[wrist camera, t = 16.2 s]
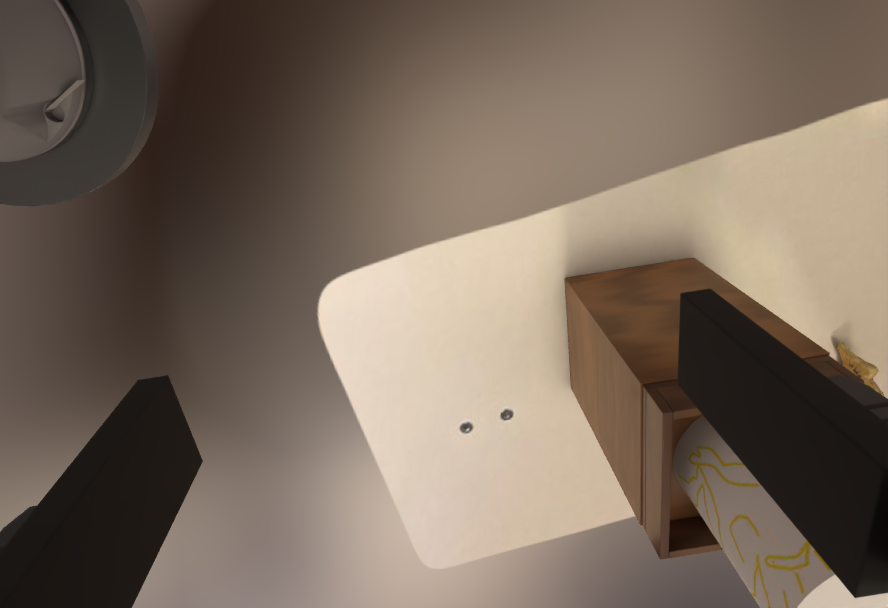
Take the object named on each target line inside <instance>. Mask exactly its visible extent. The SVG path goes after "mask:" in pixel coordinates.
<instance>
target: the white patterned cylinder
mask: <svg viewBox="0 0 888 608" xmlns="http://www.w3.org/2000/svg"><path fill="white" fill-rule="evenodd" d="M673 467H674V472H675V475H676V477H677V479H678V481H679V482H680V484H681V485H682V487H683V489H684V490H685V492H686V493H687V495H688V496H689V498H690V499H691V501H692V502H693V504H694V506H695V507H696V509H697V510H698V512H699V513H700V515H701V516H702V518H703V520H704V521H705V523H706V524H707V526H708V527H709V529H710V530H711V532H712V534H713V535H714V537H715V538H716V540H717V541H718V543H719V544H720V546H721V548H722V549H723V551H724V552H725V554H726V555H727V557H728V558H729V560H730V561H731V563H732V564H733V566H734V568H735V569H736V570H737V572H738V574H739V575H740V577H741V579H742V580H743V582H744V583H745V584H746V586H747V588H748V589H749V591H750V593H751V594H752V595H753V597H754V599H755V600H756V602H757V603H758V605H759V606H760V608H888V593H884V594H878V595H872V596H866V597H860V598H854V596H853V595H852V594H851V593H850V592H849V590H848V589H847V588H846V587H845V586H844V584H843V583H842V582H841V581H840V580H839V578H838V577H837V576H836V575H835V574H834V572H833V571H832V570H831V569H830V568H829V566H828V565H827V564H826V563H825V562H824V560H823V559H822V558H821V557H820V556H819V554H818V553H817V552H816V551H815V550H814V548H813V547H812V546H811V545H810V544H809V542H808V541H807V540H806V539H805V538H804V536H803V535H802V534H801V533H800V532H799V530H798V529H797V528H796V527H795V525H794V524H793V523H792V522H791V521H790V519H789V518H788V517H787V516H786V515H785V513H784V512H783V511H782V510H781V509H780V507H779V506H778V505H777V504H776V503H775V501H774V500H773V499H772V498H771V497H770V495H769V494H768V493H767V492H766V491H765V489H764V488H763V487H762V486H761V485H760V483H759V482H758V481H757V480H756V479H755V477H754V476H753V475H752V474H751V473H750V471H749V470H748V469H747V468H746V467H745V465H744V464H743V463H742V462H741V461H740V459H739V458H738V457H737V456H736V454H735V453H734V452H733V451H732V450H731V448H730V447H729V446H728V445H727V444H726V442H725V441H724V440H723V439H722V438H721V436H720V435H719V434H718V433H717V432H716V430H715V429H714V428H713V427H712V426H711V424H710V423H709V422H708V421H707V420H706V418H705V417H704V416H703V415H702V416H700V417H699V418H698V419H697V420H695V421H694V422H693V423H692V424H691V425H690V426H689V427H688V428H687V430H686V431H685V432H684V434H683V435H682V437H681V438H680V440H679V442H678V444H677V446H676V449H675V453H674V458H673Z"/></svg>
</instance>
